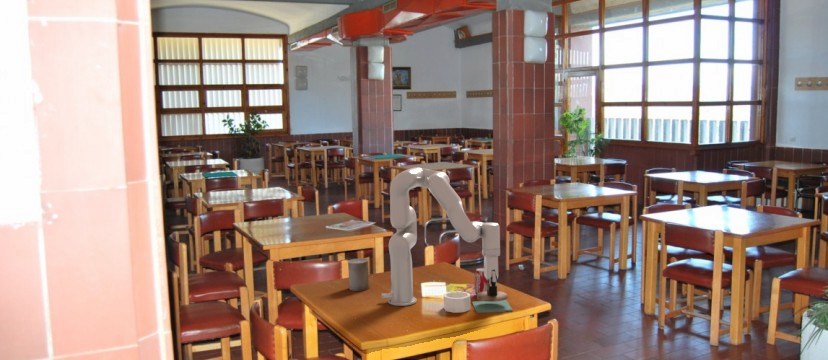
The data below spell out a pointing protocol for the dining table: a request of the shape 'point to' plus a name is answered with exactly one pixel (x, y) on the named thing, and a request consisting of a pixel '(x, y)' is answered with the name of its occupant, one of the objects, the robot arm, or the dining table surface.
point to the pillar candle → (358, 274)
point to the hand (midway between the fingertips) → (492, 293)
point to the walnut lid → (486, 297)
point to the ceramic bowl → (457, 301)
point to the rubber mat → (491, 306)
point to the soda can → (480, 281)
